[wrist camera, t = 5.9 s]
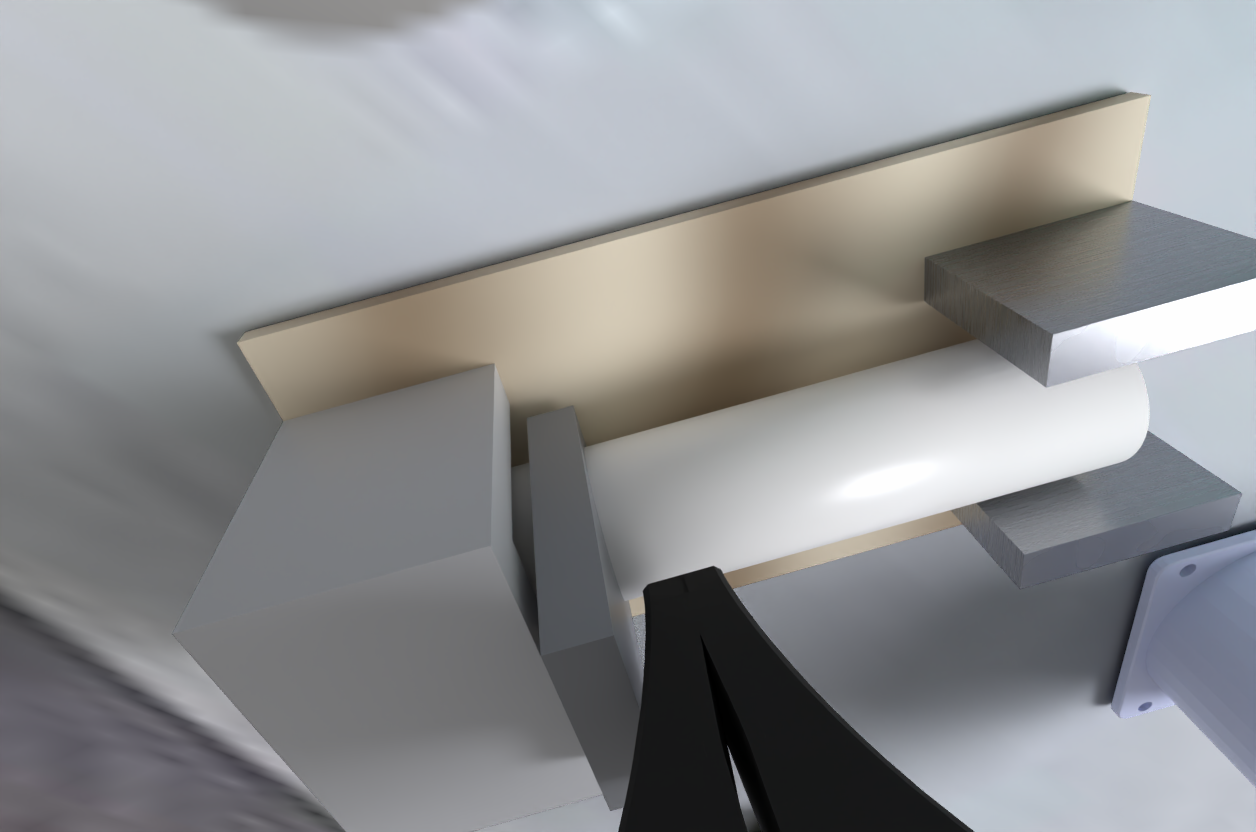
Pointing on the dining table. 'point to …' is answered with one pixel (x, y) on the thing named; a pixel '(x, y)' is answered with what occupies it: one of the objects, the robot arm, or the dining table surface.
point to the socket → (391, 616)
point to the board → (718, 296)
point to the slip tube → (777, 497)
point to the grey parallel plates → (1099, 370)
